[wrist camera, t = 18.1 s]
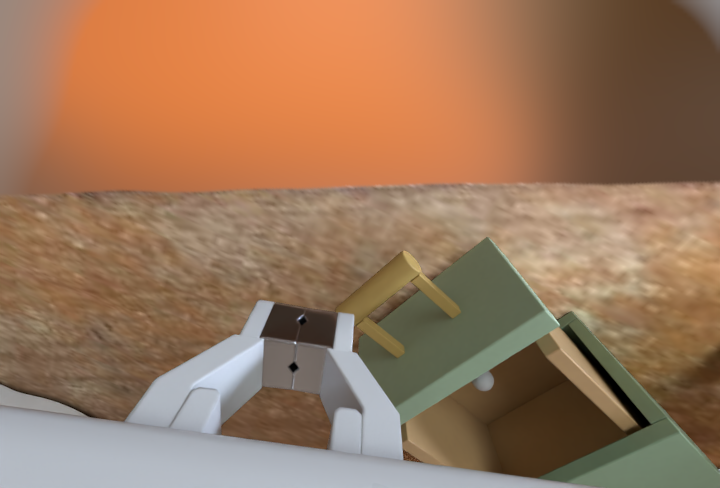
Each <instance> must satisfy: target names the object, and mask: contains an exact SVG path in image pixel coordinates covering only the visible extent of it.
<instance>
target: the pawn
mask: <svg viewBox="0 0 720 488" xmlns="http://www.w3.org/2000/svg"><path fill="white" fill-rule="evenodd" d="M472 383H473V385H474V387H475V388H476V389H478V390H480V391H488V390H490V389H491V388H492V387H493V384H494V378H493V376H492V374H491V373H490V370H488V371H487V372H485V373H484V374H482V375H480V376H479V377H477V378H476V379H474V380H472Z"/></svg>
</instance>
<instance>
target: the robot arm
mask: <svg viewBox="0 0 720 488" xmlns="http://www.w3.org/2000/svg"><path fill="white" fill-rule="evenodd" d="M354 317H355V316H354V314H349V313H342V312H331V311H325V310H318V309H311V308H306V307H300V306H295V305H289V304H284V303H278V302H276V303H275V302H271V301H265V300H258V301H257V302H256V304H255V306H254V308H253V310H252V312H251V314H250V315H249V317H248V319H247V321H246V323H245V325H244V327H243V329H242V331H241V332H240V334H239V335H235V334H234V335H232V336H230V337H229V338H227V339H225V340H223V341H222V342H220V343H218V344H216V345H215V346H213V347H211V348H209V349H207V350H206V351H204V352H202V353H200V354H199V355H197V356H195V357H193V358H192V359H190V360H188V361H186V362H184V363H183V364H181V365H179V366H177V367H176V368H174V369H172V370H170V371H168V372H167V373H165V374H163V375H161V376H160V377H158V378H156V379H155V380H154V381H153V383H152V384H151V385H150V387H149V388H148V390H147V391H146V392H145V394H144V395H143V396H142V398H141V399H140V400H139V402H138V403H137V405H136V406H135V407H134V409H133V410H132V411H131V413H130V414H129V415H128V417H127V418H126V420H125V421H124V422H122V421H114V420H107V419H100V418H92V417H88V416H86V415H85V414H83V413H81V412H79V411H77V410H75V409H73V408H71V407H68V406H66V405H63V404H61V403H58V402H55V401H52V400H49V399H45V398H41V397H37V396H32V395H28V394H24V393H20V392H17V391H14V390H12V389H10V388H8V387H6V386H3V385H1V384H0V488H603V487H595V486H588V485H581V484H573V483H566V482H559V481H552V480H544V479H537V478H530V477H522V476H515V475H508V474H501V473H493V472H486V471H479V470H472V469H464V468H457V467H450V466H443V465H435V464H428V463H421V462H413V461H406V460H403V449H402V437H401V424H400V414H399V413H398V411H397V410H396V408H395V407H394V406H393V404H392V403H391V401H390V400H389V398H388V397H387V396H386V394H385V393H384V391H383V390H382V388H381V387H380V386H379V384H378V383H377V381H376V380H375V378H374V377H373V376H372V374H371V373H370V371H369V370H368V368H367V367H366V366H365V364H364V363H363V361H362V360H361V358H360V357H359V356H358V354H357V353H354V352H352V344H353V330H354ZM262 386H263V387H272V388H281V389H289V390H296V391H301V392H307V393H313V394H319V395H320V399H321V401H322V403H323V406H324V408H325V411H326V413H327V416H328V418H329V420H330V423H331V425H332V426H331V431H330V435H329V440H328V445H327V450H326V449H318V448H311V447H304V446H296V445H289V444H282V443H275V442H267V441H260V440H253V439H245V438H238V437H231V436H224V435H221V425H222V424H223V423H224V422H226V421H227V420H228V419H229V418H230V417H231V416H232V415H233V414H234V413H235V412H236V411H237V410H239V409H240V408H241V407H242V406H243V405H244V404H245V403H246V402H247V401H248V400H249V399H250V398H252V397H253V396H254V395H255V394H256V393H257V392H258V391H259V390H260V389H261V388H262Z"/></svg>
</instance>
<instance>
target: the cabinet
mask: <svg viewBox="0 0 720 488" xmlns="http://www.w3.org/2000/svg"><path fill="white" fill-rule="evenodd" d="M557 321H558V323H559V325H560V326H559V327H560V328H561V329H562V330H563V331H564V332H565V333H566V334H567V335H568V336H569V337H570V339H571V340H572V341H573V342H574V343H575V344H576V345H577V346H578V347H579V348H580V349H581V350H582V351H583V352H584V353H585V354H586V355H587V356H588V357H589V358H590V359H591V360H592V361H593V362H594V363H595V365H596V366H597V367H598V368H599V370H600V371H601V372H602V373H603V374H604V376H605V377H606V378H607V379H608V381H609V382H610V383H611V384H612V386H613V387H614V388H615V389H616V390H617V392H618V393H619V394H620V395H621V397H622V398H623V399H624V400H625V402H626V403H627V404H628V405H629V406H630V408H631V409H632V410H633V411H634V413H635V414H636V415H637V416H638V418H639V419H640V420H641V421H642V422H643V424H644V425H645V426H646V427H645V428H643V429H641V430H639V431H637V432H635V433H632V434H630V435H628V436H626V437H624V438H622V439H620V440H617V441H615V442H613V443H611V444H609V445H607V446H605V447H602V448H600V449H598V450H596V451H594V452H592V453H589V454H587V455H585V456H583V457H581V458H579V459H577V460H574V461H572V462H570V463H568V464H566V465H564V466H562V467H559V468H557V469H555V470H553V471H551V472H549V473H546V474H544V475H542V476H540V477H538V478H537V479H544V480H552V481H559V482H566V483H573V484H581V485H588V486H595V487H603V488H720V471H719V470H718V468H717V467H716V466H715V465H714V464H713V463H712V462H711V461H710V460H709V459H708V457H707V456H706V455H705V454H704V453H703V452H702V451H701V450H700V449H699V448H698V446H697V445H696V444H695V443H694V442H693V441H692V440H691V439H690V438H689V437H688V435H687V434H686V433H685V432H684V431H683V430H682V429H681V428H680V427H679V426H678V424H677V423H676V422H675V421H674V420H673V419H672V418H671V417H670V416H669V415H668V414H667V412H666V411H665V410H664V409H663V408H662V407H661V406H660V405H659V404H658V403H657V402H656V401H655V399H654V398H653V397H652V396H651V395H650V394H649V393H648V392H647V391H646V390H645V389H644V388H643V387H642V386H641V384H640V383H639V382H638V381H637V380H636V379H635V378H634V377H633V376H632V375H631V374H630V373H629V372H628V371H627V369H626V368H625V367H624V366H623V365H622V364H621V363H620V362H619V361H618V360H617V359H616V358H615V357H614V356H613V354H612V353H611V352H610V351H609V350H608V349H607V348H606V347H605V346H604V345H603V344H602V343H601V342H600V341H599V339H598V338H597V337H596V336H595V335H594V334H593V333H592V332H591V331H590V330H589V329H588V328H587V327H586V326H585V324H584V323H583V322H582V321H581V320H580V319H579V318H578V317H577V316H576V315H575V314H574V313H573V312H572V311H571V312H570V313H568V314H566V315H565V316H563V317H562V318H560V319H559V320H557Z"/></svg>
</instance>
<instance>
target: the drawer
mask: <svg viewBox="0 0 720 488" xmlns="http://www.w3.org/2000/svg"><path fill="white" fill-rule="evenodd" d="M410 281H411V282H412V283H413V284H414V285H415V286H416V287H417V288H418V289H419V291H418V292H417V293H415V294H414V295H413V296H412V297H410V298H409V299H408V300H407V301H405V302H404V303H403V304H401V305H400V306H399V307H398V308H396V309H395V310H394V311H393V312H391V313H390V314H389V315H388V316H386V317H385V318H384V319H382V320H381V321H380V322H379V323H377V324H376V323H374V322H373V321H372V320H371V319H369V318H368V317H367V316H368V315H369V314H370V313H372V312H373V311H374V310H375V309H377V308H378V307H379V306H380V305H382V304H383V303H384V302H385V301H386V300H388V299H389V298H390V297H391V296H393V295H394V294H395V293H396V292H398V291H399V290H400V289H401V288H402V287H404V286H405V285H406V284H407V283H409V282H410ZM335 312H342V313H349V314H354V316H355V317H354V326H356V327H357V328H359V329H360V330H361V331H363V332H364V333H365V334H363V335H362V336H361V337H360V338H359V352H358V356H359V357H360V358H361V360H362V361H363V363H364V364H365V366H366V367H367V368H368V370H369V371H370V373H371V374H372V376H373V377H374V378H375V380H376V381H377V383H378V384H379V386H380V387H381V388H382V390H383V391H384V393H385V394H386V396H387V397H388V398H389V400H390V401H391V403H392V404H393V406H394V407H395V408H396V410H397V411H398V413H399V414H400V424H401V437H402V449H403V450H405V451H406V452H408V453H409V454H411V455H412V456H414V457H415V458H417V459H418V460H420V461H421V462H423V463H428V464H435V465H443V466H450V467H457V468H464V469H472V470H479V471H486V472H493V473H501V474H508V475H515V476H522V477H530V478H538V477H540V476H542V475H544V474H546V473H549V472H551V471H553V470H555V469H557V468H559V467H562V466H564V465H566V464H568V463H570V462H572V461H574V460H577V459H579V458H581V457H583V456H585V455H587V454H589V453H592V452H594V451H596V450H598V449H600V448H602V447H605V446H607V445H609V444H611V443H613V442H615V441H617V440H620V439H622V438H624V437H626V436H628V435H630V434H632V433H635V432H637V431H639V430H641V429H643V428H645V427H646V426H645V425H644V424H643V422H642V421H641V420H640V419H639V418H638V416H637V415H636V414H635V413H634V411H633V410H632V409H631V408H630V406H629V405H628V404H627V403H626V402H625V400H624V399H623V398H622V397H621V395H620V394H619V393H618V392H617V390H616V389H615V388H614V387H613V386H612V384H611V383H610V382H609V381H608V379H607V378H606V377H605V376H604V374H603V373H602V372H601V371H600V370H599V368H598V367H597V366H596V365H595V363H594V362H593V361H592V360H591V359H590V358H589V357H588V356H587V355H586V354H585V353H584V352H583V351H582V350H581V349H580V348H579V347H578V346H577V345H576V344H575V343H574V342H573V341H572V340H571V339H570V337H569V336H568V335H567V334H566V333H565V332H564V331H563V330H562V329H561V328H560V327H559V326H560V325H559V323H558V321H557V320H556V319H555V318H554V316H553V315H552V314H551V313H550V311H549V310H548V309H547V308H546V306H545V305H544V304H543V303H542V301H541V300H540V299H539V298H538V296H537V295H536V294H535V293H534V291H533V290H532V289H531V288H530V286H529V285H528V284H527V283H526V281H525V280H524V279H523V278H522V276H521V275H520V274H519V273H518V271H517V270H516V269H515V268H514V266H513V265H512V264H511V263H510V261H509V260H508V259H507V258H506V256H505V255H504V254H503V253H502V251H501V250H500V249H499V248H498V247H497V245H496V244H495V243H494V242H493V241H492V240H491V239H490V238H489V237H486V238H485V239H484V240H483V241H481V242H480V243H479V244H477V245H476V246H475V247H474V248H472V249H471V250H470V251H469V252H467V253H466V254H465V255H464V256H462V257H461V258H460V259H458V260H457V261H456V262H455V263H453V264H452V265H451V266H450V267H448V268H447V269H446V270H445V271H443V272H442V273H441V274H439V275H438V276H437V277H436V278H434V279H433V280H432V281H431V280H429V279H428V278H427V277H426V276H425V275H424V274H423V273H422V272H421V268H420V266H419V264H418V262H417V261H416V260H415V259H414V257H413V256H412V255H410V254H409V253H408V252H406V251H402V252H400V253H399V254H398V255H397V256H396V257H395V258H393V259H392V260H391V261H390V262H389V263H388V264H387V265H385V266H384V267H383V268H382V269H381V270H380V271H378V272H377V273H376V274H375V275H374V276H373V277H371V278H370V279H369V280H368V281H367V282H366V283H364V284H363V285H362V286H361V287H360V288H359V289H358V290H356V291H355V292H354V293H353V294H352V295H351V296H349V297H348V298H347V299H346V300H345V301H344V302H342V303H341V304H340V305H339V306H338V307H337V308H336V310H335ZM488 370H490V373H491V374H492V376H493V378H494V384H493V387H492V388H491V389H490V390H488V391H480V390H478V389H476V388H475V387H474V385H473V383H472V380H474V379H476V378H477V377H479V376H480V375H482V374H484V373H485V372H487V371H488Z"/></svg>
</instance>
